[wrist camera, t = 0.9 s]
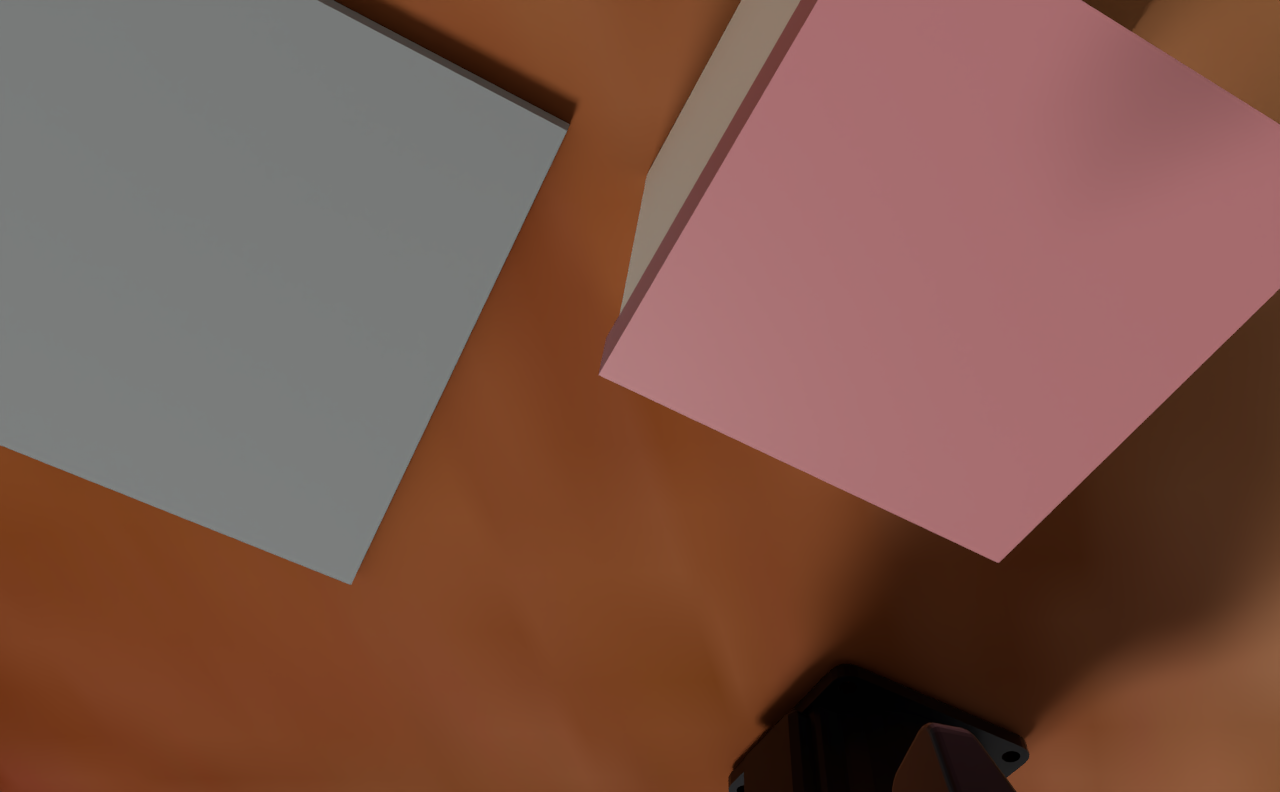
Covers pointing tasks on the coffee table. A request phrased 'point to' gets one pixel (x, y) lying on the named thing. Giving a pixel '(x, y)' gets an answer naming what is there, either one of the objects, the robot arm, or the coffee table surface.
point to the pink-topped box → (944, 248)
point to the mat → (245, 254)
